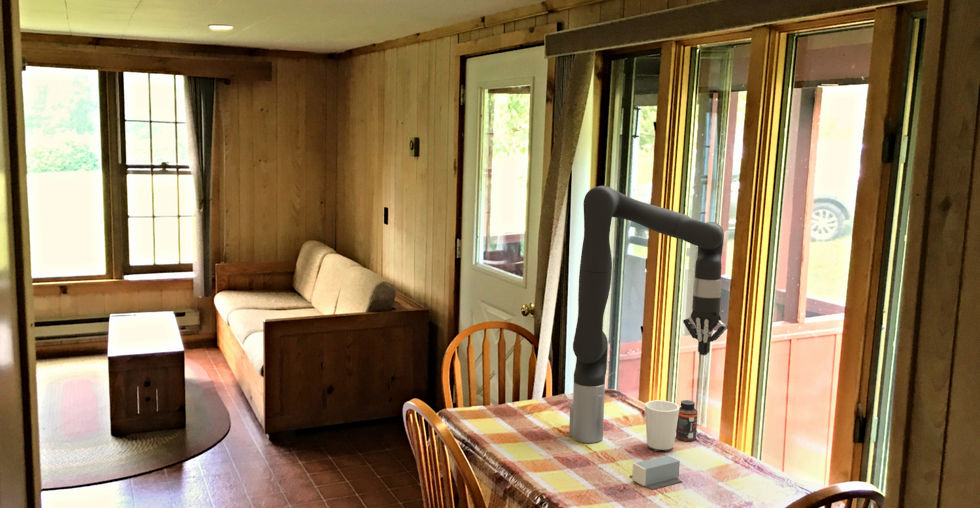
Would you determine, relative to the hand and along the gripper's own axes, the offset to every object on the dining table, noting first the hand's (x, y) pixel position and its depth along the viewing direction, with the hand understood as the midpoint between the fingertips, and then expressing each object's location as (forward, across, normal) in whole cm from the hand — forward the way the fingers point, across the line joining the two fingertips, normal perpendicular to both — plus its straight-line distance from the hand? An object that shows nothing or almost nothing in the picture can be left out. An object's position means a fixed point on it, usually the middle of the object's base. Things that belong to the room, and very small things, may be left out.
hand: (703, 354), depth 229 cm
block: (+26, +2, -19) cm, 33 cm away
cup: (+29, -10, -4) cm, 31 cm away
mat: (+29, 0, -25) cm, 38 cm away
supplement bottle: (+29, -8, +8) cm, 31 cm away
